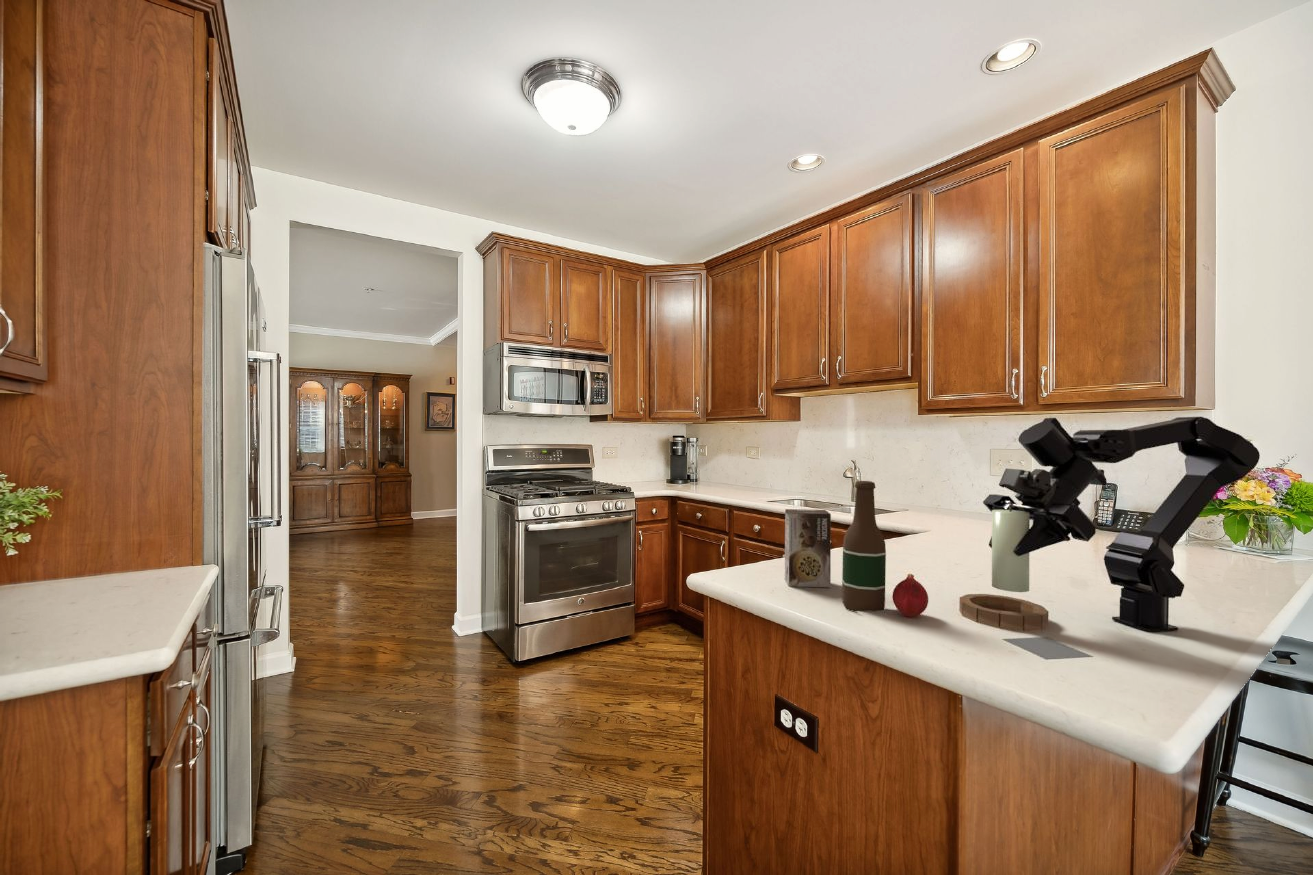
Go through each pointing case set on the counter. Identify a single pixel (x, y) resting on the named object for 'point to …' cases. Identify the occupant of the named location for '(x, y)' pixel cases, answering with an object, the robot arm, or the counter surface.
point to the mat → (1047, 648)
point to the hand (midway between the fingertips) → (1003, 550)
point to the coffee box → (807, 548)
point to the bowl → (1003, 612)
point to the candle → (1009, 550)
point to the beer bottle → (864, 556)
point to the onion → (910, 597)
